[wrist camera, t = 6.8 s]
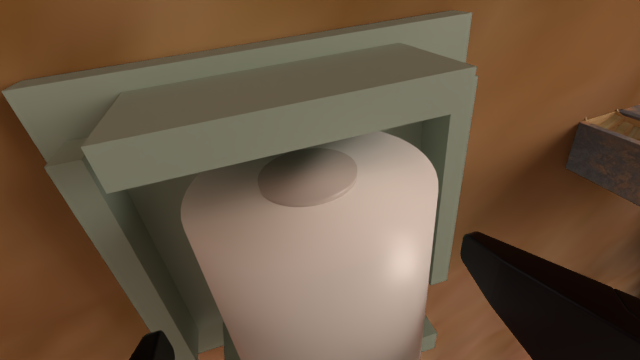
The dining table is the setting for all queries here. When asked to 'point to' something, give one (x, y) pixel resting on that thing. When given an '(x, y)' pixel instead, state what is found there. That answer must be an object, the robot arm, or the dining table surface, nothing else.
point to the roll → (319, 249)
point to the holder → (240, 142)
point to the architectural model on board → (610, 152)
